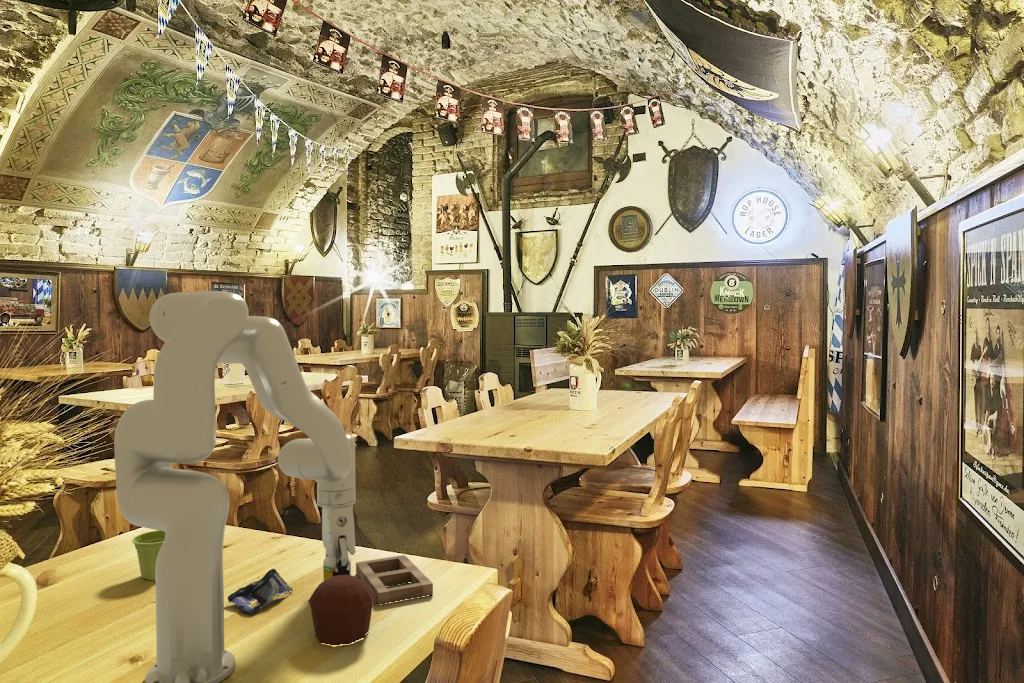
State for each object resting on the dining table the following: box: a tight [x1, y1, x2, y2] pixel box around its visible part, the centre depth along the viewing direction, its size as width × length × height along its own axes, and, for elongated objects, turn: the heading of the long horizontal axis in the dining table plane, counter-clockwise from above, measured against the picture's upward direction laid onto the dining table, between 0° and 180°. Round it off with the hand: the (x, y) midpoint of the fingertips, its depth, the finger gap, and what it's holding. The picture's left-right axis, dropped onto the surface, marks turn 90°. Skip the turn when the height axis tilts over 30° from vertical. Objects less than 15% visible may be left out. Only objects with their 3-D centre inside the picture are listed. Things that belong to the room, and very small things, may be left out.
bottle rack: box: [355, 554, 434, 606], centre depth 142 cm, size 19×11×2 cm, turn 26°
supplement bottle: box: [322, 552, 352, 581], centre depth 137 cm, size 5×5×10 cm
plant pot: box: [131, 530, 165, 581], centre depth 148 cm, size 9×9×9 cm
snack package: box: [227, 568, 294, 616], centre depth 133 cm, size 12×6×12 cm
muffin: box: [307, 574, 376, 645], centre depth 119 cm, size 12×11×10 cm
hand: (337, 583), depth 137 cm, fingers open, 6 cm apart
